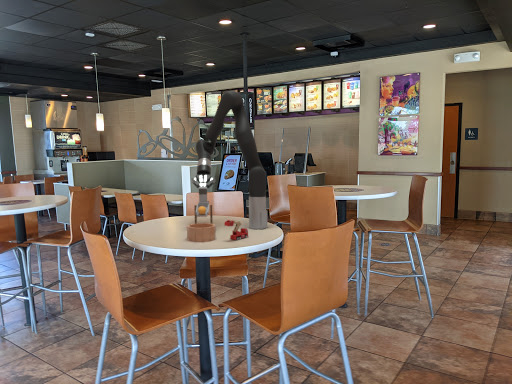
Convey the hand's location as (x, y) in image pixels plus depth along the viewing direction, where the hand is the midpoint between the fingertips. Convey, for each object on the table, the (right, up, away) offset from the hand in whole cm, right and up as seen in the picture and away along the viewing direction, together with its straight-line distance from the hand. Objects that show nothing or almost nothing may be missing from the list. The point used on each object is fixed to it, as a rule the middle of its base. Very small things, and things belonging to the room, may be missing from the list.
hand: (202, 193), depth 197 cm
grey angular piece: (0, -10, 0) cm, 10 cm away
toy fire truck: (+18, -22, -15) cm, 32 cm away
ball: (+1, -8, -9) cm, 12 cm away
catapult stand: (0, -20, +2) cm, 20 cm away
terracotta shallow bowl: (+1, -22, -14) cm, 26 cm away
